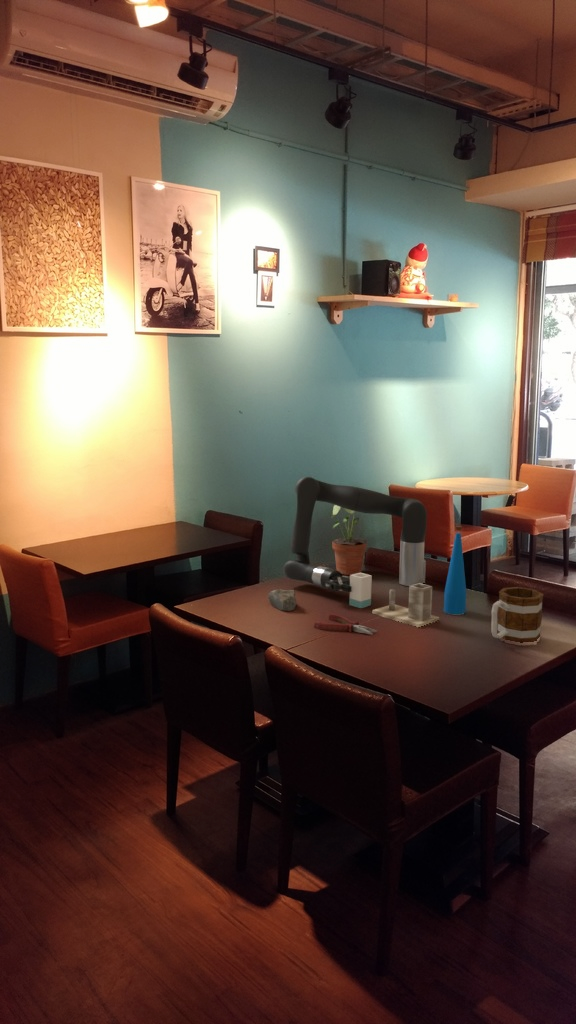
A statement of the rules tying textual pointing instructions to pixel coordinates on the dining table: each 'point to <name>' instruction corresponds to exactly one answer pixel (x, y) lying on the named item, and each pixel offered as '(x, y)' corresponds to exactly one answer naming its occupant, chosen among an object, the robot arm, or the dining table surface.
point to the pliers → (343, 625)
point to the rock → (283, 599)
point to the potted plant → (348, 547)
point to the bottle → (456, 580)
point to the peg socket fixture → (411, 607)
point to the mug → (517, 614)
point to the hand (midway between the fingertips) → (359, 587)
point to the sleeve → (360, 590)
